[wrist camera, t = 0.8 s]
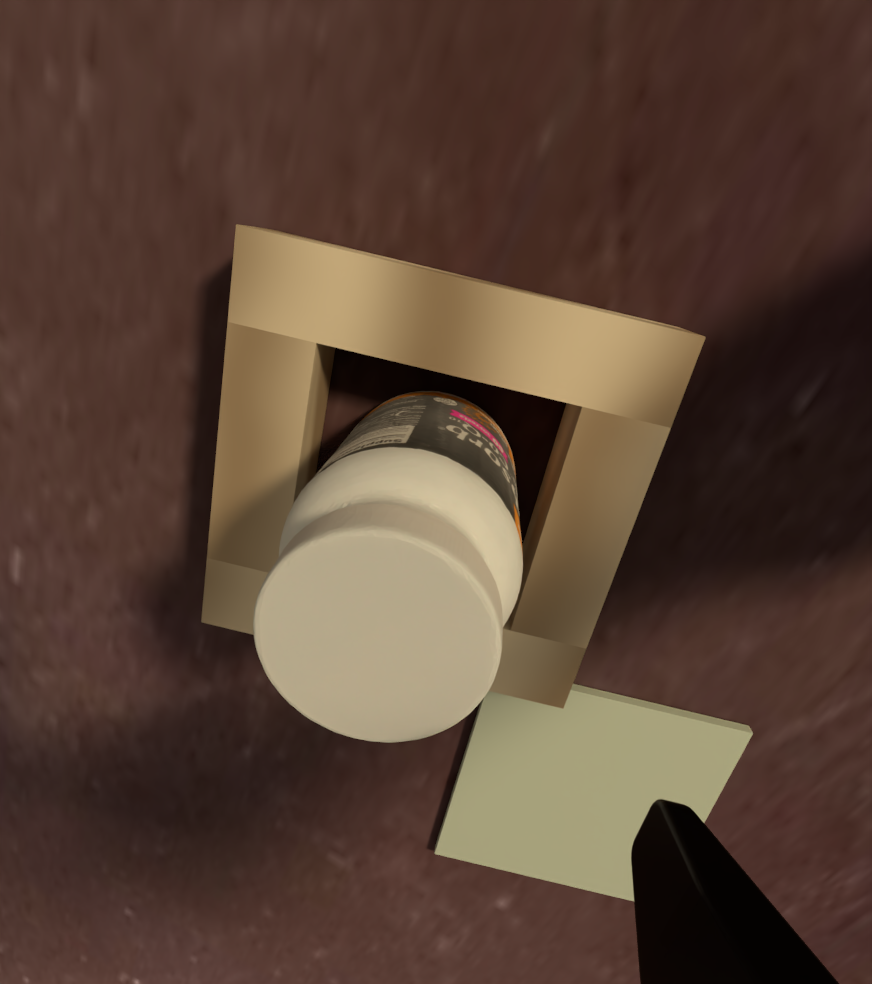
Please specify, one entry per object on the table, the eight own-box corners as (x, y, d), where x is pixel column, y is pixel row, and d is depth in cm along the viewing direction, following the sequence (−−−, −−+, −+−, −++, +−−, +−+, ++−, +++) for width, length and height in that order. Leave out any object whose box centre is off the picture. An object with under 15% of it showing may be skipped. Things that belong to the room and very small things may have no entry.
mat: (748, 725, 23) (753, 733, 22) (655, 898, 26) (658, 907, 26) (492, 664, 23) (492, 671, 22) (435, 845, 26) (434, 853, 26)
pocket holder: (677, 326, 18) (706, 337, 16) (555, 662, 22) (563, 708, 20) (269, 228, 18) (236, 224, 16) (231, 584, 22) (201, 622, 20)
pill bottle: (546, 496, 20) (592, 696, 11) (406, 573, 22) (343, 805, 12) (455, 351, 19) (420, 440, 9) (312, 443, 20) (162, 598, 11)
